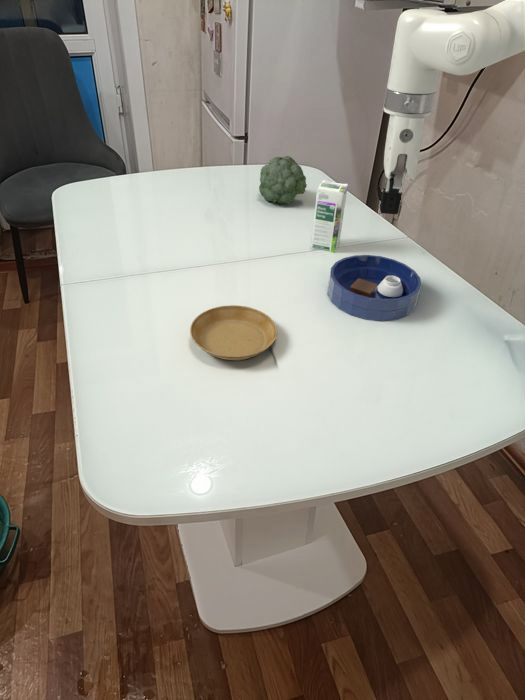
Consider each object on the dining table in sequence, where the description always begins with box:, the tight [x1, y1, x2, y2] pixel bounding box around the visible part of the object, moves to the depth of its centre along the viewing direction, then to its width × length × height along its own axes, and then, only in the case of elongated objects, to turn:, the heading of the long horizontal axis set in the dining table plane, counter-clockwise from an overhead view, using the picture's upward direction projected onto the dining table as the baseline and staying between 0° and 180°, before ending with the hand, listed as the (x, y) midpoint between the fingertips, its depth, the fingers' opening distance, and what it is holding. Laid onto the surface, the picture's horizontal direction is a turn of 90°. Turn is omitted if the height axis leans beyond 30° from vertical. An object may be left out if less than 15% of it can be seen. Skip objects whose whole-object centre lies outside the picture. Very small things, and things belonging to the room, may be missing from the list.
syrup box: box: [310, 180, 349, 254], centre depth 113 cm, size 6×6×14 cm
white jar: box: [377, 276, 403, 297], centre depth 101 cm, size 5×3×5 cm
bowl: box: [327, 254, 422, 322], centre depth 99 cm, size 17×17×5 cm
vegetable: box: [258, 155, 308, 205], centre depth 136 cm, size 12×13×15 cm
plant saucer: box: [189, 304, 278, 361], centre depth 87 cm, size 15×15×3 cm
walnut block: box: [349, 278, 378, 298], centre depth 97 cm, size 4×4×4 cm
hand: (388, 211), depth 93 cm, fingers closed
